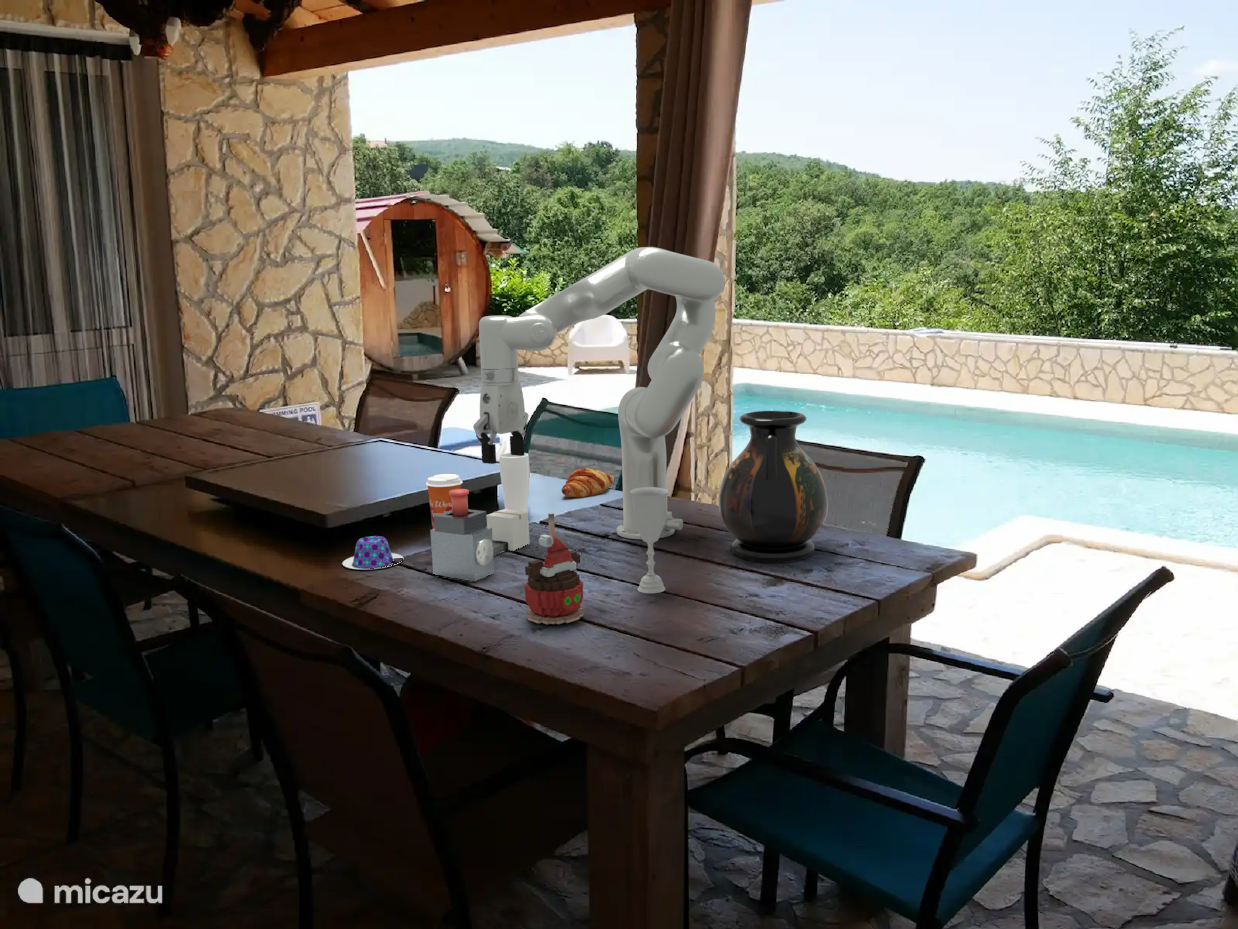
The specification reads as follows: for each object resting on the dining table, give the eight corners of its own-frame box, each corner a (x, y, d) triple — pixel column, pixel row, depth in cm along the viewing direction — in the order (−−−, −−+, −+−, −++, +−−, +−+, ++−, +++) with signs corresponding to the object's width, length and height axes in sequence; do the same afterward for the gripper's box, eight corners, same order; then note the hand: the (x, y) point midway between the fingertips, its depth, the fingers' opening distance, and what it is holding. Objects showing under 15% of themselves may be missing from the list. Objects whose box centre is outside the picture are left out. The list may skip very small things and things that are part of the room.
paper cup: (422, 544, 230) (418, 479, 227) (440, 535, 237) (436, 472, 234) (455, 546, 227) (451, 481, 224) (472, 537, 234) (469, 474, 231)
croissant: (603, 496, 287) (591, 469, 288) (631, 482, 282) (618, 454, 282) (556, 511, 270) (543, 482, 271) (584, 496, 264) (571, 466, 265)
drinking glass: (526, 522, 246) (524, 457, 244) (498, 521, 248) (495, 457, 245) (535, 515, 253) (532, 452, 250) (507, 514, 254) (504, 452, 252)
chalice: (676, 592, 192) (674, 493, 188) (639, 597, 190) (637, 497, 186) (662, 581, 199) (660, 485, 195) (627, 585, 197) (624, 489, 193)
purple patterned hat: (338, 561, 219) (336, 536, 218) (397, 553, 224) (395, 528, 223) (348, 576, 209) (346, 550, 208) (409, 567, 213) (407, 542, 212)
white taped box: (529, 544, 227) (528, 511, 225) (513, 551, 222) (511, 517, 220) (504, 540, 230) (503, 508, 229) (487, 547, 225) (486, 514, 223)
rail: (529, 543, 228) (529, 535, 228) (483, 562, 214) (483, 554, 214) (510, 540, 230) (510, 533, 230) (463, 559, 217) (463, 552, 216)
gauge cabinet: (497, 573, 207) (494, 512, 204) (475, 583, 201) (471, 520, 198) (454, 566, 212) (450, 507, 210) (431, 576, 206) (427, 515, 204)
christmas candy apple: (561, 605, 187) (557, 503, 183) (597, 617, 180) (594, 512, 177) (512, 620, 180) (507, 515, 176) (548, 633, 173) (543, 524, 169)
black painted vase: (828, 570, 203) (829, 423, 197) (713, 567, 207) (712, 423, 201) (827, 540, 224) (828, 406, 218) (723, 538, 227) (722, 407, 222)
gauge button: (473, 513, 205) (472, 489, 204) (462, 517, 202) (460, 493, 201) (458, 511, 207) (457, 488, 206) (446, 515, 203) (445, 492, 203)
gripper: (488, 382, 210) (492, 468, 214) (539, 373, 225) (542, 453, 228) (458, 380, 214) (462, 465, 217) (510, 371, 229) (513, 451, 232)
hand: (503, 459), depth 223 cm, fingers open, 9 cm apart
